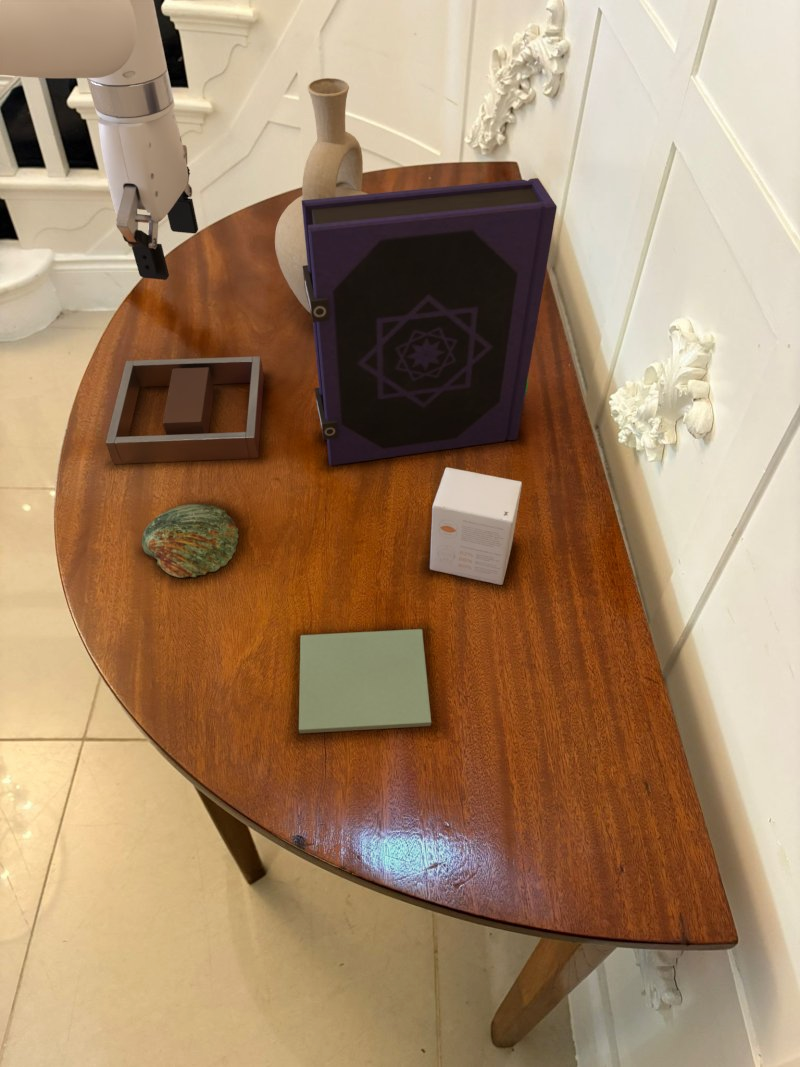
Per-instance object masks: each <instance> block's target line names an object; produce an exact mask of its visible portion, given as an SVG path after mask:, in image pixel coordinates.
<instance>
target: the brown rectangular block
mask: <svg viewBox="0 0 800 1067" xmlns="http://www.w3.org/2000/svg"><path fill="white" fill-rule="evenodd" d="M214 397H215V389H214V384H212V379H211V375H210V370H209V368H208V367H206V368H178V369H173V370H172V376H171V381H170V386H168V392H167V397H166V402H165V408H164V413H163V419H162V426H163V429H164V432H165V435H180V434H206V433H210V428H211V421H212V412H213V407H214V406H213V405H214Z"/></svg>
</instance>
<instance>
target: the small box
mask: <svg viewBox="0 0 800 1067" xmlns="http://www.w3.org/2000/svg"><path fill="white" fill-rule="evenodd" d="M522 487H523V482H522V481H520V480H515V479H510V478H505V477H499V476H494V475H489V474H484V473H478V472H473V471H469V470H463V469H458V468H452V467H445V469H444V471H443V474H442V477H441V480H440V483H439V486H438V488H437V491H436V494H435V497H434V501H433V503H432V508H431V530H430V531H431V534H430V555H429V557H430V558H429V570H430V571H435V572H440V573H445V574H448V575H449V574H450V575H454V576H456V577H457V576H458V577H462V578H466V579H472V580H476V581H481V582H486V583H489V584H490V583H491V584H494V585H500V586H502V585H504V580H505V577H506V572H507V568H508V564H509V559H510V555H511V550H512V547H513V540H514V535H515V529H516V523H517V517H518V511H519V505H520V498H521V492H522Z"/></svg>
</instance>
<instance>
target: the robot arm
mask: <svg viewBox="0 0 800 1067" xmlns="http://www.w3.org/2000/svg"><path fill="white" fill-rule="evenodd" d="M162 40H163V39H162V35H161V31H160V25H159V20H158V16H157V11H156V6H155V1H154V0H0V76H11V77H24V78H36V79H37V78H38V79H86V80H87V81H86V82H87V84H88V88H89V91H90V95H91V98H92V103H93V105H94V109H95V113H96V115H97V116H98V117H99V118H98V121H97V125H98V135H99V143H100V149H101V155H102V162H103V167H104V171H105V175H106V180H107V184H108V189H109V193H110V197H111V201H112V205H113V208H114V211H115V214H116V220H115V225H116V228H117V229H118V231H119V232H120V234H121V235H122V238H123V240H124V242H126V243H127V245H128V246H129V247H130V248H131V249H132V253H133V257H134V261H135V264H136V267H137V271H138V275H139V276H140V277H141V278H143V279H152V280H153V279H154V280H163V281H166V280H168V278H169V277H170V274H169V270H168V264H167V261H166V257H165V253H164V249H163V245H162V243H158V238H159V237H158V236H159V222H162V221H163V220H164V219H165V218H166V217H167V219H168V223H169V227H170V230H171V231H172V232H175V233H182V234H183V233H184V234H194V235H195V234H197V233H198V231H199V225H198V221H197V216H196V211H195V206H194V202H193V198H192V196H193V188H192V186H191V185H190V183H189V181H190V175H191V172H190V171H191V170H190V168H189V166H188V147H187V145H186V144H183V140H182V136H181V132H180V129H179V125H178V121H177V117H176V114H175V111H174V108H175V100H174V94H173V90H172V85H171V80H170V75H169V71H168V65H167V60H166V55H165V50H164V45H163V41H162ZM138 210H139V211H146V212H147V214H140V213H138ZM139 223H144V224H148V227H147V233H146V232H144V231H143V230H141V229H139Z"/></svg>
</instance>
